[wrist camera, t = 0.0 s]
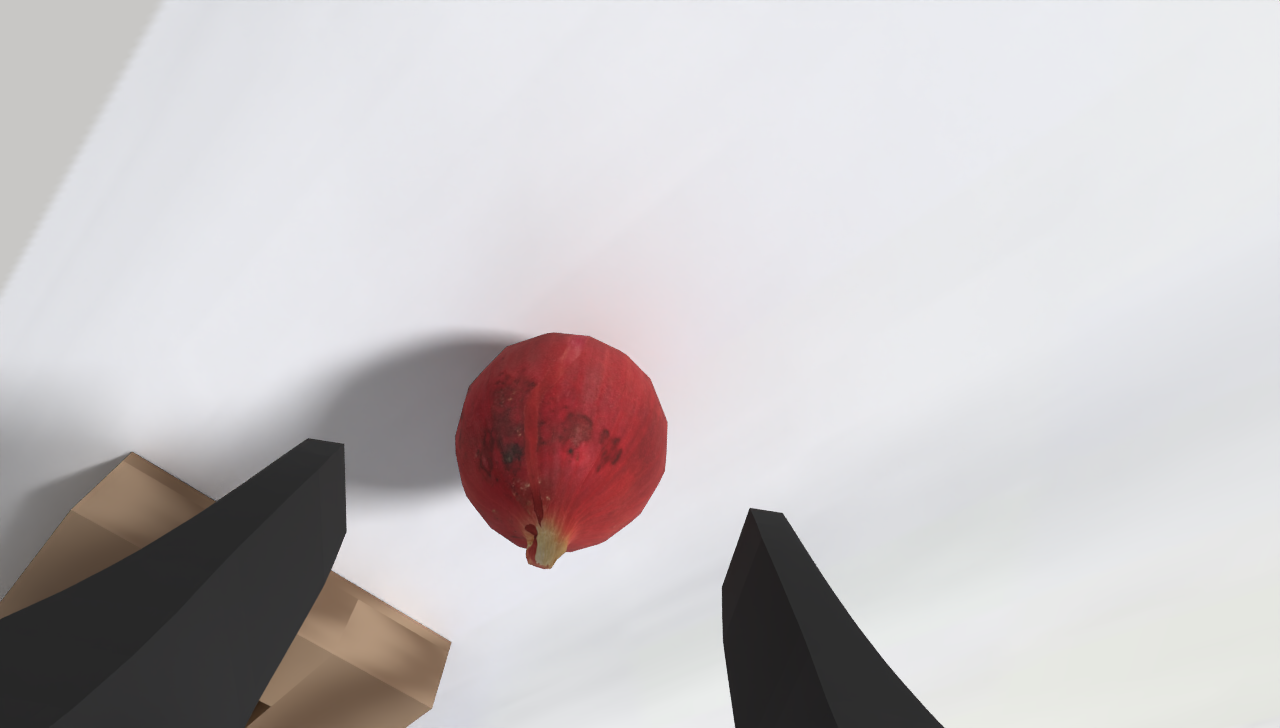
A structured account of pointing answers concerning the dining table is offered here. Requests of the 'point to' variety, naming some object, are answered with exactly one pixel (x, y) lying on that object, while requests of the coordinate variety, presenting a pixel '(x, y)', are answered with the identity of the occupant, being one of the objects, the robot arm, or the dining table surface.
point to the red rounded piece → (560, 444)
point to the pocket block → (322, 649)
